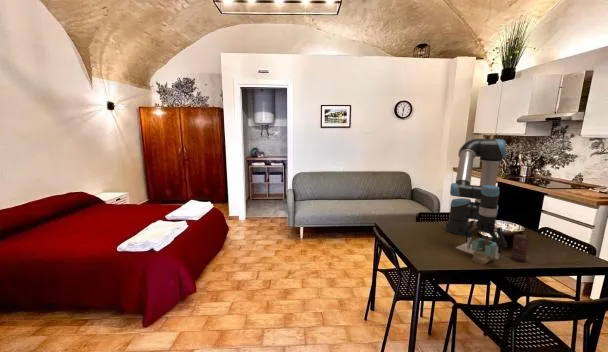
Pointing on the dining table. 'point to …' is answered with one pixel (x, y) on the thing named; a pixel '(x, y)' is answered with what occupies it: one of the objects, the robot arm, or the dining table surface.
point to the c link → (489, 248)
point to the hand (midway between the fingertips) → (481, 253)
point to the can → (520, 247)
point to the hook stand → (482, 255)
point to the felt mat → (465, 248)
